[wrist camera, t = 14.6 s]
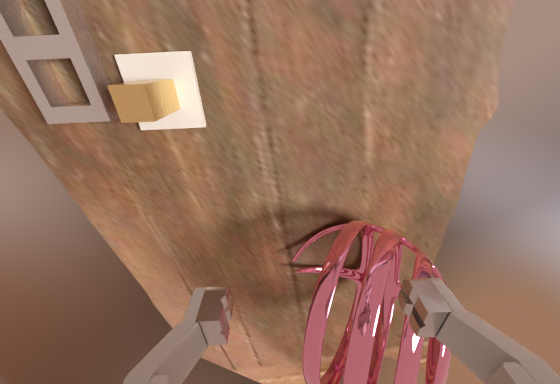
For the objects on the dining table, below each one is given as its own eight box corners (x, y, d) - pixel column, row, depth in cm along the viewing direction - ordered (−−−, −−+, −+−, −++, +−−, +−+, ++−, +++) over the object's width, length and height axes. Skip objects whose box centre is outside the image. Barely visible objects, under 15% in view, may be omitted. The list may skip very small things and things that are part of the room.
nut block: (144, 79, 31) (107, 85, 24) (173, 78, 31) (143, 84, 24) (153, 109, 33) (121, 122, 26) (180, 108, 33) (155, 121, 26)
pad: (117, 54, 30) (114, 54, 30) (190, 51, 30) (189, 50, 30) (143, 128, 35) (141, 130, 35) (206, 125, 35) (205, 127, 35)
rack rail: (-80, -161, 21) (-129, -191, 19) (13, -167, 21) (-24, -198, 19) (65, 119, 34) (47, 124, 32) (122, 116, 34) (110, 121, 32)
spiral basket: (245, 387, 39) (433, 547, 24) (230, 243, 31) (501, 346, 16) (316, 291, 61) (437, 342, 46) (318, 192, 53) (466, 215, 38)
